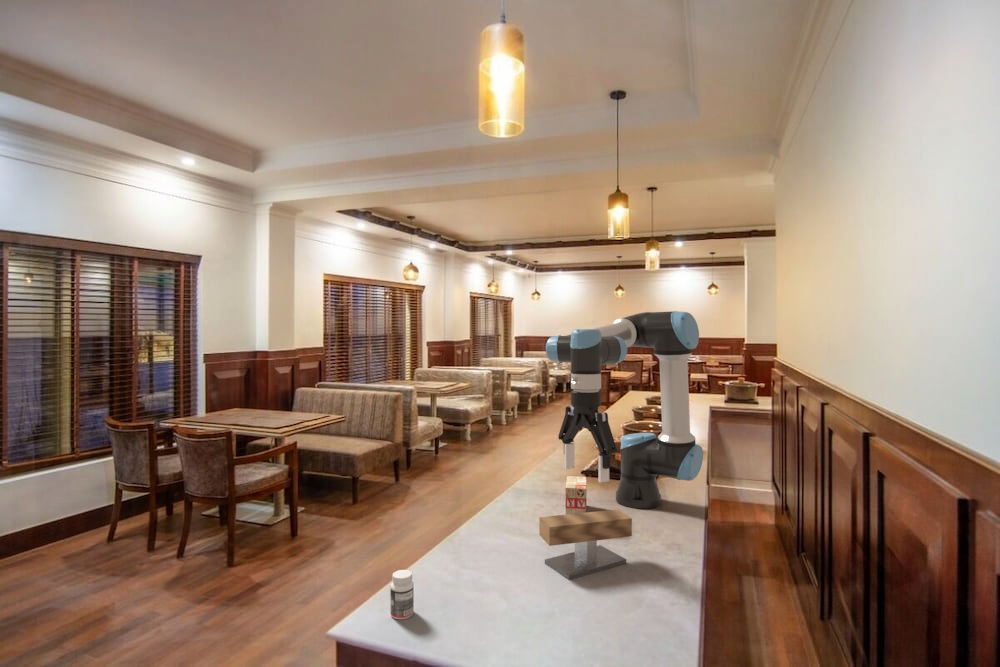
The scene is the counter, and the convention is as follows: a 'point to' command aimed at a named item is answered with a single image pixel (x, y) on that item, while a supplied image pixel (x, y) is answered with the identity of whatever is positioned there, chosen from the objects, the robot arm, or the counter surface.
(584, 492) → the stack of blocks
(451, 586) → the counter surface
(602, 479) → the robot arm
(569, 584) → the counter surface
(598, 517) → the board
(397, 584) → the pill bottle
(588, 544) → the fulcrum
